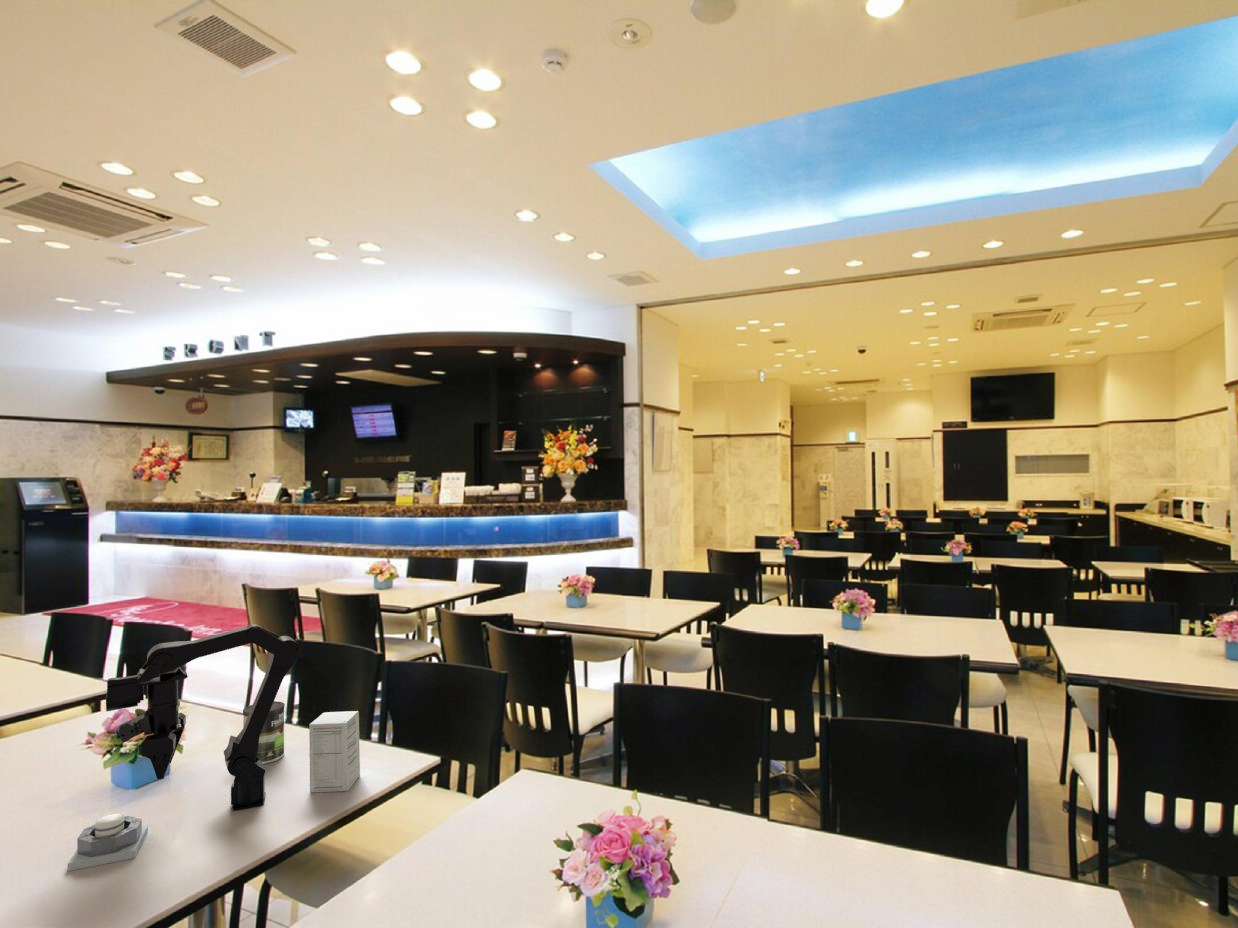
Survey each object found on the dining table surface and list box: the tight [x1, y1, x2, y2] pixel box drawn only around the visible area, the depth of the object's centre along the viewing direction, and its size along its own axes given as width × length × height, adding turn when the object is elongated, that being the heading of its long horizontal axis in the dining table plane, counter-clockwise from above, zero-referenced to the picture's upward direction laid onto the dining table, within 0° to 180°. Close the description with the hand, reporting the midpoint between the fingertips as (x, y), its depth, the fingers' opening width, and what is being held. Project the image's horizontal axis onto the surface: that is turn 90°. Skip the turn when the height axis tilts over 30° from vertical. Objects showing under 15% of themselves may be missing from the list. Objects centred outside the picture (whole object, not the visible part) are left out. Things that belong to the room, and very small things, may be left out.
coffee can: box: [242, 700, 286, 765], centre depth 188 cm, size 10×10×14 cm
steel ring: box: [76, 815, 143, 857], centre depth 141 cm, size 10×10×3 cm
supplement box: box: [308, 710, 361, 793], centre depth 171 cm, size 10×9×17 cm
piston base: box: [67, 813, 149, 872], centre depth 140 cm, size 11×11×6 cm
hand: (164, 770), depth 152 cm, fingers open, 9 cm apart
